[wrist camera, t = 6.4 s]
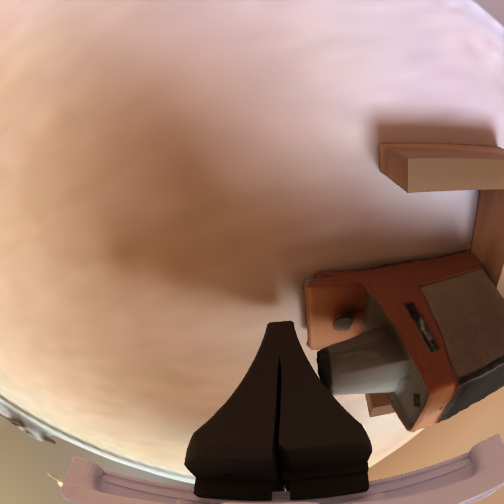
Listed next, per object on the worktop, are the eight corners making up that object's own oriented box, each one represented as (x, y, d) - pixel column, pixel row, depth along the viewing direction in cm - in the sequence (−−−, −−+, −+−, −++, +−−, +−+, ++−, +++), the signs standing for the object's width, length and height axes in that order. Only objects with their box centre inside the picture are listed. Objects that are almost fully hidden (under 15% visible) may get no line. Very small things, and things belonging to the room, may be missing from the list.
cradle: (448, 363, 18) (462, 393, 15) (362, 381, 18) (369, 417, 16) (498, 146, 10) (536, 162, 8) (378, 144, 11) (407, 158, 9)
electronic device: (300, 268, 14) (319, 406, 8) (470, 244, 13) (551, 337, 7) (305, 334, 16) (318, 458, 10) (455, 308, 15) (509, 402, 9)
